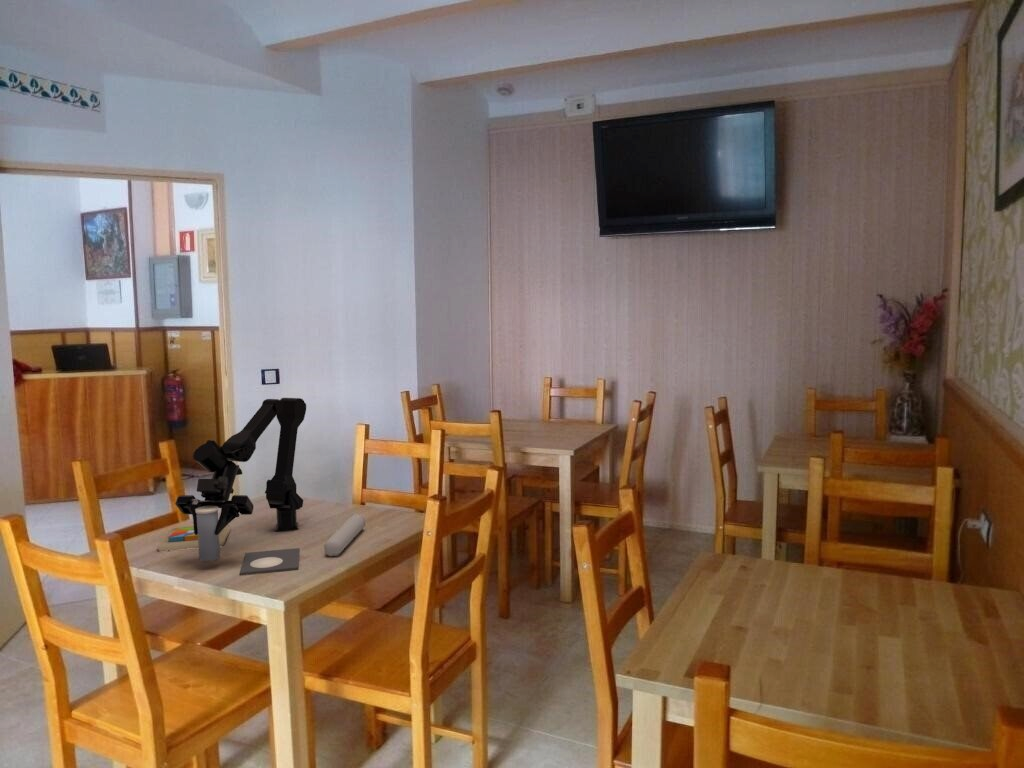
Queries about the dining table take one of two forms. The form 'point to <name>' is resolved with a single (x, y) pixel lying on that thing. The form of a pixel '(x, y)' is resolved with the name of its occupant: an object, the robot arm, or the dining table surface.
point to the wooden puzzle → (187, 538)
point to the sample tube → (207, 533)
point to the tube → (344, 535)
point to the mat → (270, 561)
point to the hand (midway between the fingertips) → (205, 534)
